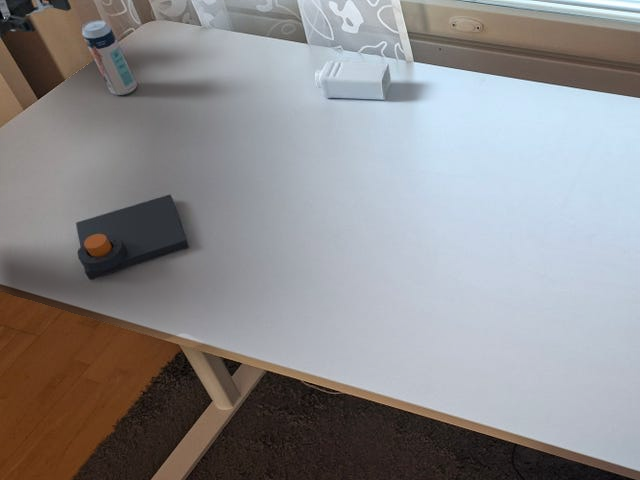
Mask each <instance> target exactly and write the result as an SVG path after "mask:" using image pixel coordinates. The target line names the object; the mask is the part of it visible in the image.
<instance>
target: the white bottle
mask: <svg viewBox="0 0 640 480" xmlns="http://www.w3.org/2000/svg"><path fill="white" fill-rule="evenodd" d="M314 82H315V85H316V88H318V89H321V92H322V96H323V98H327V99H332V98H334V99H355V100H356V99H358V100H359V99H360V100H381V101H385V100H386V98H387V94H388V90H389V89H390V86H391V84H392V78H391V72H390V66H389V63H376V62H375V63H374V62H373V63H372V62H354V61H353V62H352V61H336V60H327V61H326V63H325V64H324V66H323V68H322V69H317V70H316V71H315V74H314Z"/></svg>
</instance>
